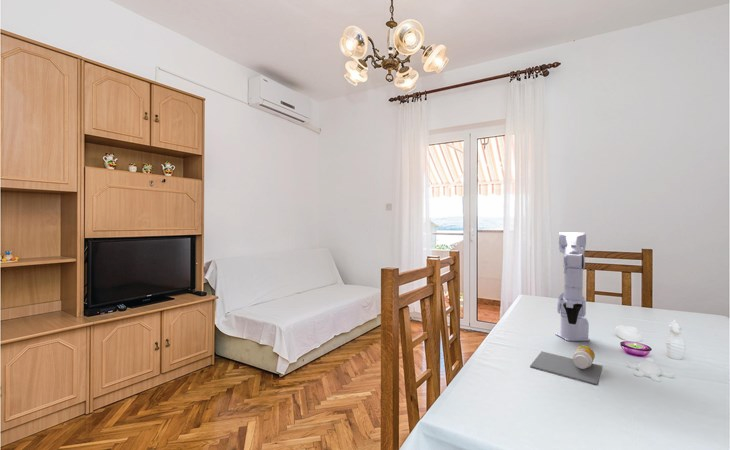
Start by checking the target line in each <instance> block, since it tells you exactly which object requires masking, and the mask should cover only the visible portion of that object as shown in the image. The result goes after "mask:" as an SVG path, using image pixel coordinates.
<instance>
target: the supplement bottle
mask: <svg viewBox="0 0 730 450" xmlns="http://www.w3.org/2000/svg"><path fill="white" fill-rule="evenodd" d="M595 355H596V354H595V352H594V350H593V349H592V348H591V347H590V346H588V345H579V346H577V348H576V349H575V350H574V353H573V355H572V359H573V361H574V363H575V365H576V366H577V367H578V368H581V369H585V368H588V367H590V366H591V365H592V363H593V362H594V359H595V357H596V356H595Z"/></svg>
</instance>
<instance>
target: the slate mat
mask: <svg viewBox="0 0 730 450" xmlns="http://www.w3.org/2000/svg"><path fill="white" fill-rule="evenodd" d="M529 368H532V369H536V370H540V371H543V372H547V373H549V374H550V373H551V374H555V375H558V376H563V377H564V378H565V377H566V378H569V379H573V380H577V381H581V382H583V383H586V384H587V383H588V384H592V385H595V386H597V385H598V383H599V379H600V375H601V371H602V369H603V365H600V364H596V363H593V362H592V365H591V366H590V367H588V368H585V369H581V368H578V367H577V366H576V365H575V363H574V361H573V357H572V358H571V357H568V356H562V355H559V354H556V353H550V352H547V351H544V350H543V351H540V352H539V354H538V355H537V356H536V358H535V359H534V360H533V361H532V363H531V364H530V365H529Z"/></svg>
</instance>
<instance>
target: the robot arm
mask: <svg viewBox="0 0 730 450" xmlns="http://www.w3.org/2000/svg"><path fill="white" fill-rule="evenodd" d="M586 246H587V233H586V232H584V231H583V232H570V231H569V232H568V231H567V232H566V231H565V232H564V231H563V232H562V231H560V232H559V233H558V249H559V252H560V253H562V254H563V260H562V261H563V265H562V267H563V274H564V277H563V291H562V292H561V293H559V295H557V311H556V313H558V314H559V315H560V329H559V330H560V332H555V335H556V336H558V337H560V338H562V339H564V340H566V341H568V342H574V341H576V342H577V341H579V342H580V341H590V338H589V324H590V323H589V321H588V319H587V317H586V314H587V313H586V312H587V311H586V310H587V308H586V307H587V304H586V303H587V300H586V298H585V297H584V296H583V287H584V286H583V283H584V282H583V280H584V277H583V276H584V270H585V266H586V259H585V258H586V257H585V251H586Z"/></svg>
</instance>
